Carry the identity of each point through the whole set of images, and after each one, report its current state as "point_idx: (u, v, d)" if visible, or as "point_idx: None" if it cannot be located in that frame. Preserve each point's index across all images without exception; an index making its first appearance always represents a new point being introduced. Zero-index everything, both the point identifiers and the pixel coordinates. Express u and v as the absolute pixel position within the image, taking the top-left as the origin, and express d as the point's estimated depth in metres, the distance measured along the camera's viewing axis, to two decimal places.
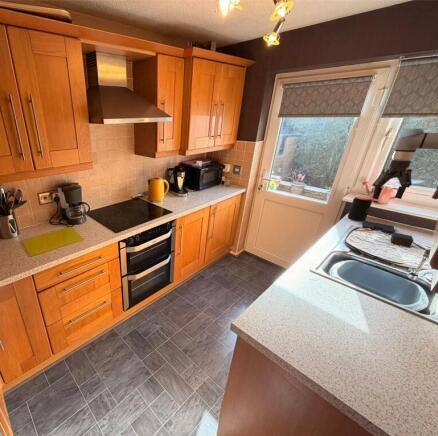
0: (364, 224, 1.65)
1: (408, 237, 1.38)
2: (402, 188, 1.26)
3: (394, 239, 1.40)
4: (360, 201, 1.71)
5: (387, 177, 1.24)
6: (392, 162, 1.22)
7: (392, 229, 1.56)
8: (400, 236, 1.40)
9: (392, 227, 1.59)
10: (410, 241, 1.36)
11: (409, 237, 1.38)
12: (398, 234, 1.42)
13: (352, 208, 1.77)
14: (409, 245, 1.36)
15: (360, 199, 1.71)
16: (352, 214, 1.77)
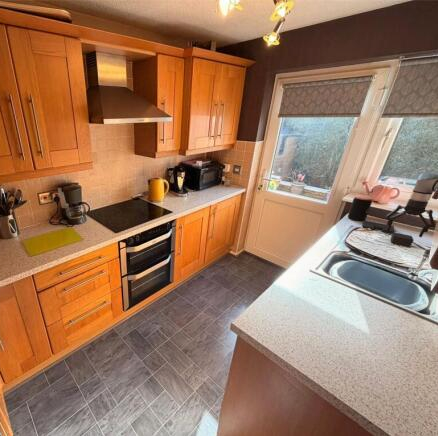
0: (364, 224, 1.65)
1: (408, 237, 1.38)
2: (423, 227, 1.33)
3: (394, 239, 1.40)
4: (360, 201, 1.71)
5: (401, 213, 1.38)
6: (408, 200, 1.35)
7: (392, 229, 1.56)
8: (400, 236, 1.40)
9: (392, 227, 1.59)
10: (410, 241, 1.36)
11: (409, 237, 1.38)
12: (398, 234, 1.42)
13: (352, 208, 1.77)
14: (409, 245, 1.36)
15: (360, 199, 1.71)
16: (352, 214, 1.77)
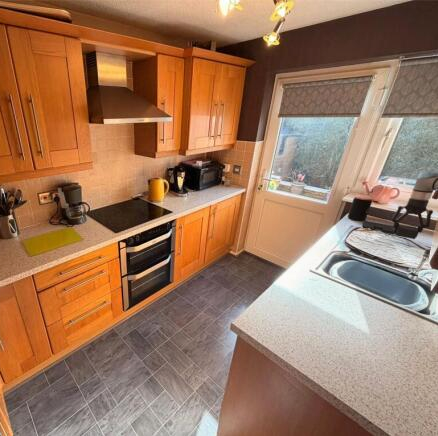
0: (364, 224, 1.65)
1: (413, 229, 1.36)
2: (418, 228, 1.34)
3: (398, 231, 1.38)
4: (360, 201, 1.71)
5: (404, 213, 1.37)
6: None
7: (392, 229, 1.56)
8: (405, 227, 1.38)
9: (392, 227, 1.59)
10: (415, 232, 1.33)
11: (414, 229, 1.36)
12: (402, 226, 1.40)
13: (352, 208, 1.77)
14: (414, 237, 1.34)
15: (360, 199, 1.71)
16: (352, 214, 1.77)
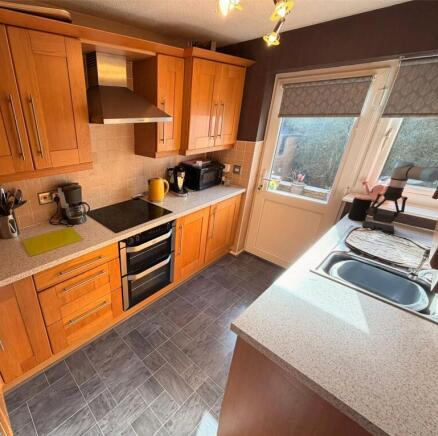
0: (364, 224, 1.65)
1: (389, 214, 1.49)
2: (394, 213, 1.47)
3: (377, 216, 1.51)
4: (360, 201, 1.71)
5: (382, 200, 1.49)
6: None
7: (392, 229, 1.56)
8: (383, 213, 1.50)
9: (392, 227, 1.59)
10: (391, 217, 1.46)
11: (390, 214, 1.48)
12: (381, 212, 1.52)
13: (352, 208, 1.77)
14: (390, 221, 1.47)
15: (360, 199, 1.71)
16: (352, 214, 1.77)
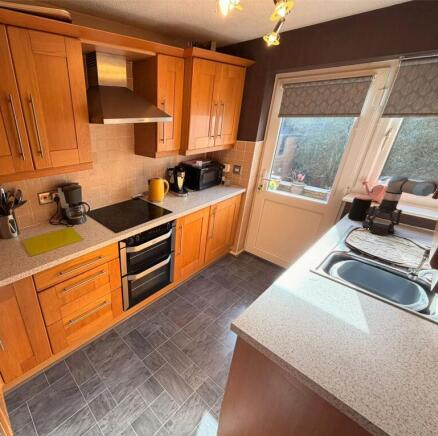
0: (364, 224, 1.65)
1: (385, 226, 1.52)
2: (389, 225, 1.50)
3: (372, 228, 1.54)
4: (360, 201, 1.71)
5: (377, 212, 1.53)
6: None
7: (392, 229, 1.56)
8: (378, 225, 1.53)
9: None
10: (386, 229, 1.49)
11: (386, 226, 1.52)
12: (376, 223, 1.56)
13: (352, 208, 1.77)
14: (385, 233, 1.50)
15: (360, 199, 1.71)
16: (352, 214, 1.77)
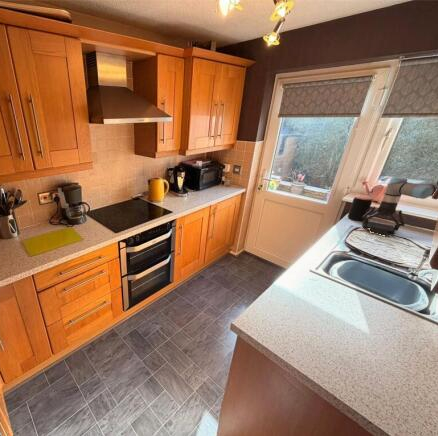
0: (364, 224, 1.65)
1: (384, 227, 1.52)
2: (394, 226, 1.49)
3: (372, 229, 1.54)
4: (360, 201, 1.71)
5: (375, 213, 1.53)
6: (381, 202, 1.51)
7: (392, 229, 1.56)
8: (377, 226, 1.54)
9: (392, 227, 1.59)
10: (386, 231, 1.50)
11: (385, 227, 1.52)
12: (376, 225, 1.56)
13: (352, 208, 1.77)
14: (385, 234, 1.50)
15: (360, 199, 1.71)
16: (352, 214, 1.77)
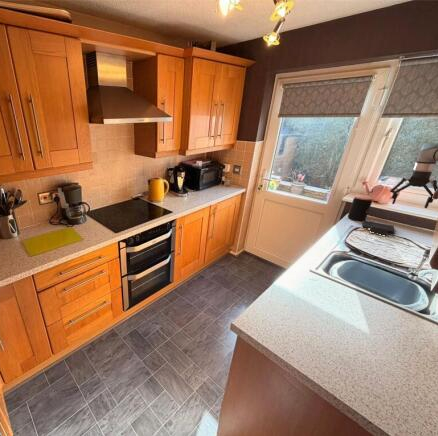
0: (364, 224, 1.65)
1: (384, 227, 1.52)
2: (428, 198, 1.34)
3: (372, 229, 1.54)
4: (360, 201, 1.71)
5: (405, 185, 1.39)
6: (412, 172, 1.37)
7: (392, 229, 1.56)
8: (377, 226, 1.54)
9: (392, 227, 1.59)
10: (386, 231, 1.50)
11: (385, 227, 1.52)
12: (376, 225, 1.56)
13: (352, 208, 1.77)
14: (385, 234, 1.50)
15: (360, 199, 1.71)
16: (352, 214, 1.77)
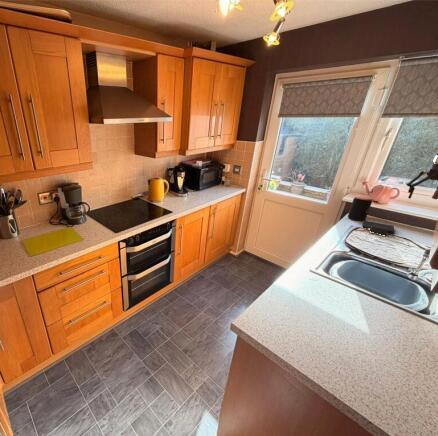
0: (364, 224, 1.65)
1: (384, 227, 1.52)
2: None
3: (372, 229, 1.54)
4: (360, 201, 1.71)
5: (423, 179, 1.33)
6: (431, 165, 1.31)
7: (392, 229, 1.56)
8: (377, 226, 1.54)
9: (392, 227, 1.59)
10: (386, 231, 1.50)
11: (385, 227, 1.52)
12: (376, 225, 1.56)
13: (352, 208, 1.77)
14: (385, 234, 1.50)
15: (360, 199, 1.71)
16: (352, 214, 1.77)
